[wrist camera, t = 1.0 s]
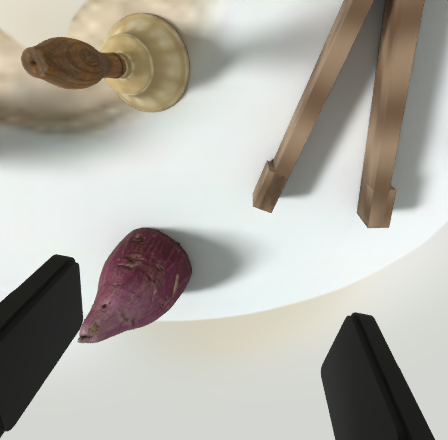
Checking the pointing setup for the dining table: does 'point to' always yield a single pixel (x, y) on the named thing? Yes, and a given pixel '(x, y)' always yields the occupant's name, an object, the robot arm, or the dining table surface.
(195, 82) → the dining table surface
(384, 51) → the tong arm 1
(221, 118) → the dining table surface
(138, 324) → the vegetable
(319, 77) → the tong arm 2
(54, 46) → the hand bell
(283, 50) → the dining table surface
